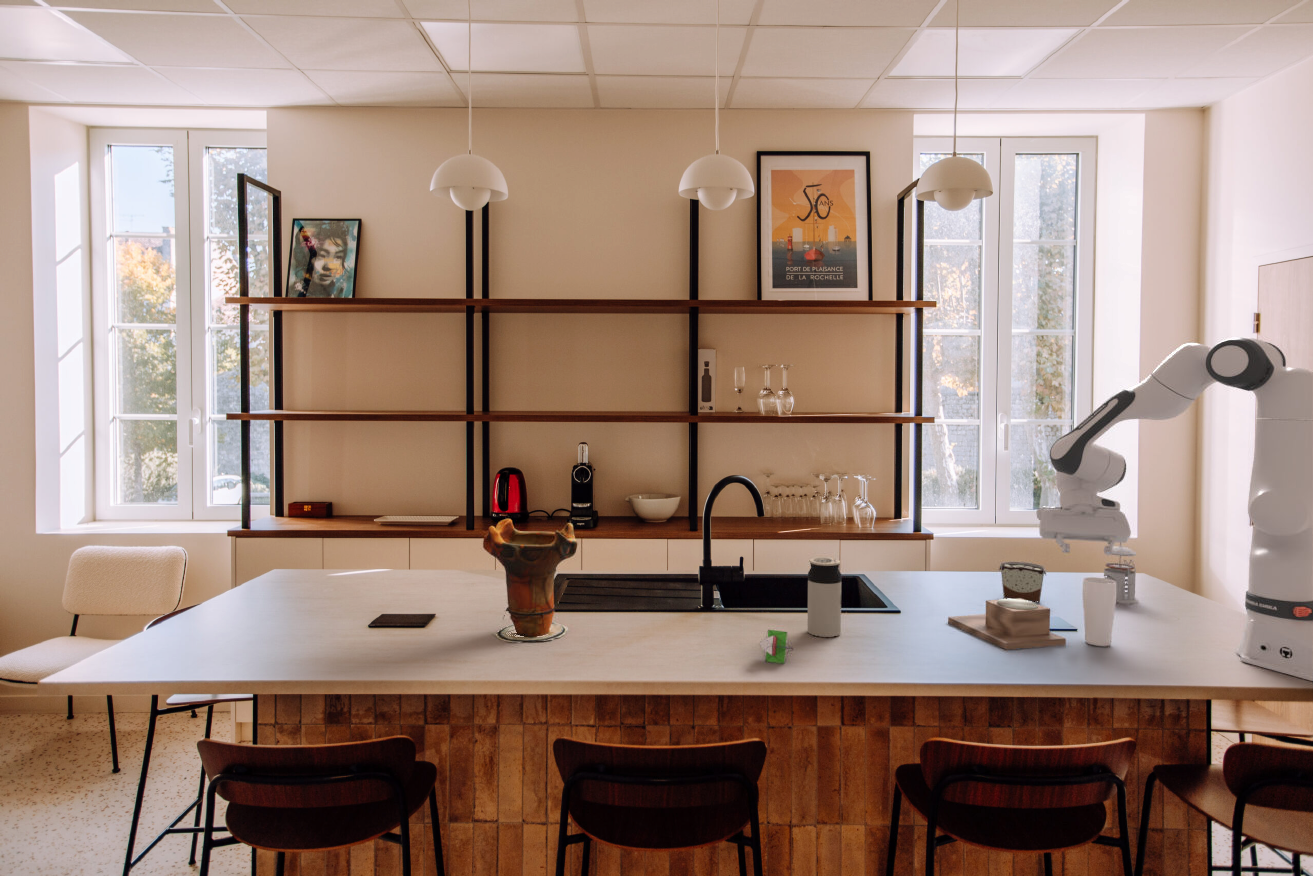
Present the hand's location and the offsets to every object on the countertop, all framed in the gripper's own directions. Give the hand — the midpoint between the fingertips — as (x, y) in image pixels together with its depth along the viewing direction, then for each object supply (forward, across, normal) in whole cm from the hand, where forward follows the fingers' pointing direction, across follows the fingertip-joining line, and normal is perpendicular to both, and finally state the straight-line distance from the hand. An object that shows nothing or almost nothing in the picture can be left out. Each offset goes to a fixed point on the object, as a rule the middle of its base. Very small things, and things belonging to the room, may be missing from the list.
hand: (1087, 552), depth 187 cm
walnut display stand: (+21, -20, +6) cm, 30 cm away
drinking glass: (+22, 0, +5) cm, 23 cm away
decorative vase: (+46, -131, -18) cm, 140 cm away
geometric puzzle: (+47, -70, -20) cm, 87 cm away
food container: (-6, -10, +34) cm, 36 cm away
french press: (-11, +16, +38) cm, 43 cm away
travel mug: (+31, -62, -3) cm, 69 cm away
